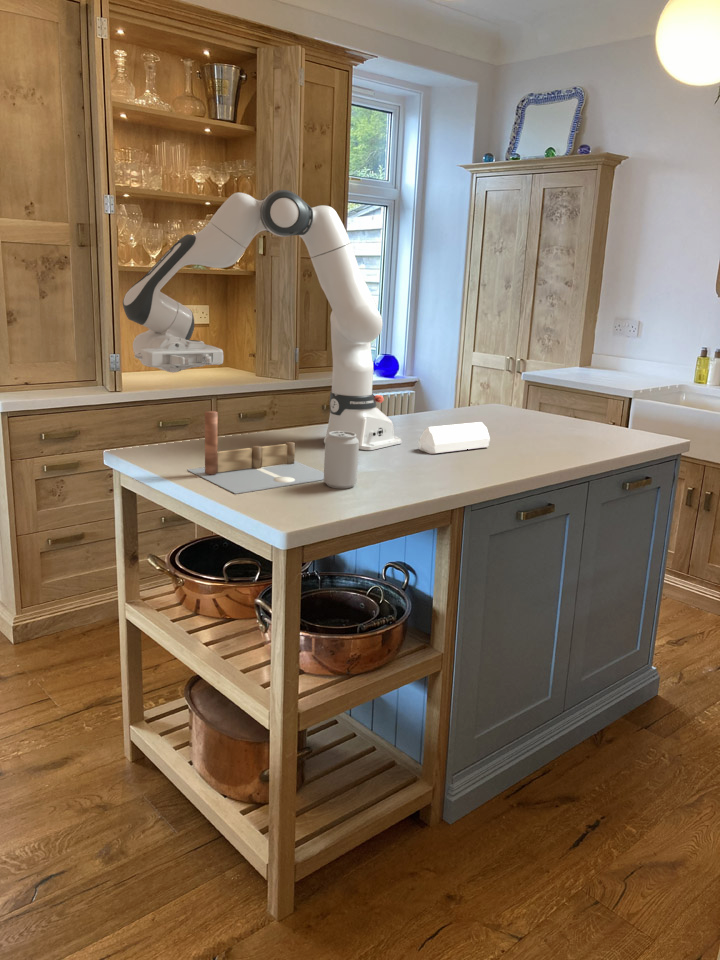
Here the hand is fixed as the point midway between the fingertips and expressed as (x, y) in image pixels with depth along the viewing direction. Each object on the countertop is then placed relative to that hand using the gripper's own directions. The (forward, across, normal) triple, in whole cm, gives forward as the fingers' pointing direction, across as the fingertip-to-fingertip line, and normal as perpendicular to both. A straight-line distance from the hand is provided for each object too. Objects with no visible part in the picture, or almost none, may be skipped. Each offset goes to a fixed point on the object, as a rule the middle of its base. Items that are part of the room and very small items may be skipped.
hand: (197, 361), depth 183 cm
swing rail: (+14, 0, +24) cm, 27 cm away
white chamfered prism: (+21, +68, +24) cm, 75 cm away
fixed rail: (+14, +13, +24) cm, 30 cm away
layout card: (+19, +6, +24) cm, 31 cm away
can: (+35, +17, +24) cm, 46 cm away
